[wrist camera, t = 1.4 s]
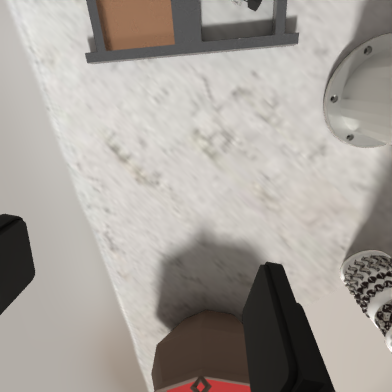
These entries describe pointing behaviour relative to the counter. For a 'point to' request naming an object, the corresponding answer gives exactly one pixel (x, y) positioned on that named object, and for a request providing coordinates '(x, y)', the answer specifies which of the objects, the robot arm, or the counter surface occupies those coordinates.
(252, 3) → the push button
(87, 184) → the counter surface
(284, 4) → the rail
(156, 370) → the brown cauldron
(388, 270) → the decorative candle
